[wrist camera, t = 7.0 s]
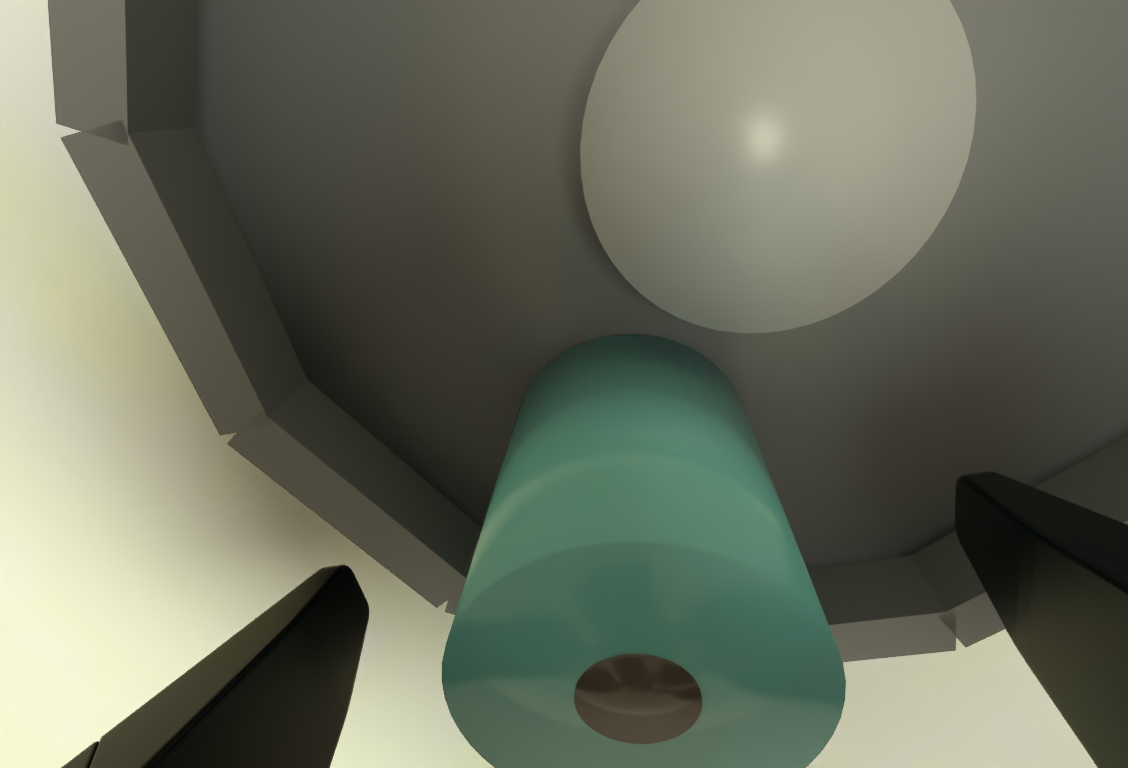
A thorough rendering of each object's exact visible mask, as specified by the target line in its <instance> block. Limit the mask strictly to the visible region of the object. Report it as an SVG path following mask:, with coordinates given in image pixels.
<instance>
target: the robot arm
mask: <svg viewBox="0 0 1128 768" xmlns="http://www.w3.org/2000/svg"><path fill="white" fill-rule="evenodd" d="M955 530H956V534H957V537H958V540H959V542H960V544H961V546H962V548H963V550H964V552H965V553H966V555H967V557H968V559H969V561H970V563H971V565H972V567H973V569H974V570H975V572H976V574H977V576H978V578H979V580H980V582H981V584H982V585H983V587H984V589H985V591H986V593H987V595H988V597H989V599H990V600H991V602H992V604H993V606H994V608H995V610H996V612H997V614H998V615H999V617H1000V619H1001V621H1002V623H1003V625H1004V627H1005V628H1006V630H1007V632H1008V634H1009V636H1010V637H1011V639H1012V641H1013V643H1014V644H1015V646H1016V647H1017V649H1018V650H1019V652H1020V654H1021V655H1022V657H1023V658H1024V660H1025V661H1026V663H1027V664H1028V666H1029V667H1030V669H1031V670H1032V672H1033V673H1034V675H1035V676H1036V677H1037V679H1038V680H1039V682H1040V683H1041V685H1042V686H1043V688H1044V689H1045V691H1046V692H1047V694H1048V695H1049V697H1050V698H1051V700H1052V701H1053V702H1054V704H1055V705H1056V707H1057V708H1058V710H1059V711H1060V713H1061V714H1062V716H1063V717H1064V719H1065V720H1066V722H1067V723H1068V724H1069V726H1070V727H1071V729H1072V730H1073V732H1074V733H1075V735H1076V736H1077V738H1078V739H1079V741H1080V742H1081V744H1082V745H1083V747H1084V748H1085V749H1086V751H1087V752H1088V754H1089V755H1090V757H1091V758H1092V760H1093V761H1094V763H1095V764H1096V766H1097V767H1098V768H1128V524H1126V523H1123V522H1120V521H1118V520H1115V519H1113V518H1110V517H1108V516H1105V515H1103V514H1100V513H1098V512H1095V511H1093V510H1090V509H1088V508H1085V507H1083V506H1080V505H1078V504H1075V503H1072V502H1070V501H1067V500H1065V499H1062V498H1060V497H1057V496H1055V495H1052V494H1050V493H1047V492H1045V491H1042V490H1040V489H1037V488H1035V487H1032V486H1029V485H1027V484H1024V483H1022V482H1019V481H1017V480H1014V479H1012V478H1009V477H1007V476H1004V475H1002V474H999V473H996V472H993V471H986V472H979V473H972V474H966V475H962V476H960V477H959V478H958V479H957V482H956V492H955ZM368 619H369V607H368V603H367V600H366V598H365V596H364V594H363V592H362V590H361V588H360V586H359V583H358V581H357V579H356V577H355V575H354V573H353V571H352V570H351V569H350V568H349V567H348V566H346V565H339V566H332V567H325V568H322V569H320V570H319V571H317V572H316V573H315V574H313V575H312V576H311V577H309V578H308V579H307V580H305V581H304V582H303V583H302V584H300V585H299V586H298V587H296V588H295V589H294V590H292V591H291V592H290V593H288V594H287V595H286V596H285V597H283V598H282V599H281V600H279V601H278V602H277V603H275V604H274V605H273V606H272V607H270V608H269V609H268V610H266V611H265V612H264V613H262V614H261V615H260V616H259V617H257V618H256V619H255V620H253V621H252V622H251V623H249V624H248V625H247V626H246V627H244V628H243V629H242V630H240V631H239V632H238V633H236V634H235V635H234V636H232V637H231V638H230V639H229V640H227V641H226V642H225V643H223V644H222V645H221V646H219V647H218V648H217V649H216V650H214V651H213V652H212V653H210V654H209V655H208V656H206V657H205V658H204V659H203V660H201V661H200V662H199V663H197V664H196V665H195V666H193V667H192V668H191V669H190V670H188V671H187V672H186V673H184V674H183V675H182V676H180V677H179V678H178V679H176V680H175V681H174V682H173V683H171V684H170V685H169V686H167V687H166V688H165V689H163V690H162V691H161V692H160V693H158V694H157V695H156V696H154V697H153V698H152V699H150V700H149V701H148V702H147V703H145V704H144V705H143V706H141V707H140V708H139V709H137V710H136V711H135V712H133V713H132V714H131V715H130V716H128V717H127V718H126V719H124V720H123V721H122V722H120V723H119V724H118V725H117V726H115V727H114V728H113V729H111V730H110V731H109V732H107V733H106V734H105V735H104V736H102V737H101V739H100V742H94V743H93V744H92V745H90V746H89V747H88V748H86V749H85V750H84V751H82V752H81V753H80V754H79V755H77V756H76V757H75V758H73V759H72V760H71V761H69V762H68V763H67V764H66V765H64V766H63V767H62V768H330V765H331V762H332V759H333V756H334V753H335V750H336V747H337V743H338V740H339V737H340V734H341V731H342V728H343V725H344V722H345V718H346V715H347V711H348V708H349V704H350V700H351V696H352V691H353V687H354V682H355V678H356V673H357V669H358V664H359V660H360V656H361V651H362V647H363V642H364V638H365V633H366V629H367V624H368Z"/></svg>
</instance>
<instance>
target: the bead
mask: <svg viewBox="0 0 1128 768" xmlns="http://www.w3.org/2000/svg"><path fill="white" fill-rule="evenodd" d="M442 684H443V690H444V695H445V699H446V702H447V705H448V708H449V711H450V713H451V716H452V717H453V719H454V721H455V723H456V725H457V727H458V728H459V730H460V732H461V733H462V734H463V736H464V737H465V738H466V740H467V741H468V742H469V744H470V745H471V746H472V747H473V748H474V749H475V750H476V751H477V752H478V753H479V754H480V755H481V756H482V757H483V758H484V759H485V760H486V761H487V762H489V763H490V764H491V765H492V766H493V767H495V768H805V767H807V766H808V765H809V764H810V763H811V762H812V761H813V760H814V759H815V758H816V757H817V755H818V754H819V753H820V752H821V751H822V750H823V748H824V747H825V746H826V744H827V743H828V741H829V740H830V738H831V737H832V735H833V733H834V731H835V729H836V727H837V724H838V722H839V720H840V718H841V714H842V710H843V706H844V702H845V686H846V680H845V674H844V667H843V662H842V659H841V656H840V654H839V651H838V648H837V645H836V643H835V640H834V637H833V635H832V632H831V630H830V627H829V625H828V622H827V620H826V617H825V614H824V612H823V609H822V607H821V604H820V602H819V599H818V597H817V594H816V591H815V589H814V586H813V584H812V581H811V579H810V576H809V574H808V571H807V568H806V566H805V563H804V561H803V558H802V556H801V553H800V551H799V548H798V545H797V543H796V540H795V538H794V535H793V533H792V530H791V528H790V525H789V522H788V520H787V517H786V515H785V512H784V510H783V507H782V505H781V502H780V499H779V497H778V494H777V492H776V489H775V487H774V484H773V482H772V479H771V476H770V474H769V471H768V469H767V466H766V464H765V461H764V459H763V456H762V453H761V451H760V448H759V446H758V443H757V441H756V438H755V436H754V433H753V430H752V428H751V425H750V423H749V420H748V418H747V415H746V412H745V410H744V407H743V405H742V402H741V400H740V397H739V395H738V394H737V392H736V390H735V388H734V386H733V385H732V383H731V382H730V381H729V379H728V378H727V377H726V375H725V374H724V373H723V372H722V371H721V370H720V369H719V368H718V367H717V366H716V365H715V364H714V363H713V362H711V361H710V360H709V359H707V358H706V357H705V356H703V355H702V354H700V353H699V352H697V351H695V350H693V349H691V348H689V347H688V346H685V345H683V344H680V343H678V342H675V341H673V340H669V339H665V338H661V337H657V336H650V335H642V334H621V335H613V336H606V337H602V338H598V339H594V340H590V341H588V342H585V343H583V344H580V345H577V346H575V347H573V348H572V349H570V350H568V351H566V352H564V353H563V354H561V355H560V356H558V357H557V358H556V359H554V360H553V361H552V362H550V363H549V364H548V365H547V366H546V367H545V368H544V369H543V370H542V371H541V372H540V373H539V374H538V376H537V377H536V378H535V379H534V381H533V382H532V383H531V385H530V387H529V388H528V390H527V392H526V393H525V395H524V398H523V400H522V403H521V405H520V408H519V411H518V414H517V417H516V421H515V424H514V427H513V430H512V434H511V437H510V440H509V443H508V446H507V450H506V453H505V456H504V459H503V463H502V466H501V469H500V472H499V475H498V479H497V482H496V485H495V488H494V492H493V495H492V498H491V501H490V504H489V508H488V511H487V514H486V517H485V521H484V524H483V527H482V530H481V533H480V537H479V540H478V543H477V546H476V550H475V553H474V556H473V559H472V562H471V566H470V569H469V572H468V575H467V579H466V582H465V585H464V588H463V591H462V595H461V598H460V601H459V604H458V608H457V611H456V614H455V617H454V621H453V624H452V627H451V630H450V633H449V637H448V640H447V643H446V647H445V652H444V656H443V661H442Z"/></svg>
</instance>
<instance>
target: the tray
mask: <svg viewBox="0 0 1128 768" xmlns="http://www.w3.org/2000/svg"><path fill="white" fill-rule="evenodd" d="M48 10H49V24H50V39H51V53H52V68H53V83H54V97H55V112H56V124H59V125H63V126H66V127H69V128H72V129H76V130H79V131H82V132H78V133H75V134H72V135H68V136H65V137H62V138H61V139H62V141H63V143H64V145H65V147H66V149H67V151H68V153H69V154H70V156H71V158H72V160H73V162H74V164H75V166H76V167H77V169H78V171H79V173H80V175H81V177H82V179H83V181H84V182H85V184H86V186H87V188H88V190H89V192H90V194H91V195H92V197H93V199H94V201H95V203H96V205H97V207H98V209H99V210H100V212H101V214H102V216H103V218H104V220H105V222H106V223H107V225H108V227H109V229H110V231H111V233H112V235H113V237H114V238H115V240H116V242H117V244H118V246H119V248H120V250H121V251H122V253H123V255H124V257H125V259H126V261H127V263H128V265H129V266H130V268H131V270H132V272H133V274H134V276H135V278H136V279H137V281H138V283H139V285H140V287H141V289H142V291H143V293H144V294H145V296H146V298H147V300H148V302H149V304H150V306H151V307H152V309H153V311H154V313H155V315H156V317H157V319H158V321H159V322H160V324H161V326H162V328H163V330H164V332H165V334H166V335H167V337H168V339H169V341H170V343H171V345H172V347H173V349H174V350H175V352H176V354H177V356H178V358H179V360H180V362H181V363H182V365H183V367H184V369H185V371H186V373H187V375H188V377H189V378H190V380H191V382H192V384H193V386H194V388H195V390H196V391H197V393H198V395H199V397H200V399H201V401H202V403H203V405H204V406H205V408H206V410H207V412H208V414H209V416H210V418H211V419H212V421H213V423H214V425H215V427H216V429H217V431H218V433H219V434H220V435H225V434H230V433H235V432H238V433H237V434H236V435H235V436H234V437H233V438H232V439H231V440H230V441H229V442H228V443H227V444H228V445H229V446H231V447H232V448H233V449H235V450H236V451H237V452H238V453H240V454H241V455H242V456H243V457H245V458H246V459H247V460H249V461H250V462H251V463H252V464H254V465H255V466H256V467H258V468H259V469H260V470H261V471H263V472H264V473H265V474H266V475H268V476H269V477H270V478H272V479H273V480H274V481H275V482H277V483H278V484H279V485H281V486H282V487H283V488H284V489H286V490H287V491H288V492H289V493H291V494H292V495H293V496H295V497H296V498H297V499H298V500H300V501H301V502H302V503H304V504H305V505H306V506H307V507H309V508H310V509H311V510H312V511H314V512H315V513H316V514H318V515H319V516H320V517H321V518H323V519H324V520H325V521H326V522H328V523H329V524H330V525H332V526H333V527H334V528H335V529H337V530H338V531H339V532H341V533H342V534H343V535H344V536H346V537H347V538H348V539H349V540H351V541H352V542H353V543H355V544H356V545H357V546H358V547H360V548H361V549H362V550H364V551H365V552H366V553H367V554H369V555H370V556H371V557H372V558H374V559H375V560H376V561H378V562H379V563H380V564H381V565H383V566H384V567H385V568H386V569H388V570H389V571H390V572H392V573H393V574H394V575H395V576H397V577H398V578H399V579H401V580H402V581H403V582H404V583H406V584H407V585H408V586H409V587H411V588H412V589H413V590H415V591H416V592H417V593H418V594H420V595H421V596H422V597H424V598H425V599H426V600H427V601H429V602H430V603H431V604H432V605H434V606H435V607H436V608H437V607H438V606H440V605H441V604H443V603H444V602H445V601H447V600H448V599H449V600H448V603H447V607H446V610H445V612H447V613H451V614H454V615H455V614H456V611H457V608H458V604H459V601H460V598H461V595H462V591H463V588H464V585H465V582H466V579H467V575H468V572H469V569H470V566H471V562H472V559H473V556H474V553H475V550H476V546H477V543H478V540H479V537H480V533H481V530H482V527H483V524H484V521H485V517H486V514H487V511H488V508H489V504H490V501H491V498H492V495H493V492H494V488H495V485H496V482H497V479H498V475H499V472H500V469H501V466H502V463H503V459H504V456H505V453H506V450H507V446H508V443H509V440H510V437H511V434H512V430H513V427H514V424H515V421H516V417H517V414H518V411H519V408H520V405H521V403H522V400H523V398H524V395H525V393H526V392H527V390H528V388H529V387H530V385H531V383H532V382H533V381H534V379H535V378H536V377H537V376H538V374H539V373H540V372H541V371H542V370H543V369H544V368H545V367H546V366H547V365H548V364H549V363H550V362H552V361H553V360H554V359H556V358H557V357H558V356H560V355H561V354H563V353H564V352H566V351H568V350H570V349H572V348H573V347H575V346H577V345H580V344H583V343H585V342H588V341H590V340H594V339H598V338H602V337H606V336H613V335H621V334H642V335H650V336H657V337H661V338H665V339H669V340H673V341H675V342H678V343H680V344H683V345H685V346H688V347H689V348H691V349H693V350H695V351H697V352H699V353H700V354H702V355H703V356H705V357H706V358H707V359H709V360H710V361H711V362H713V363H714V364H715V365H716V366H717V367H718V368H719V369H720V370H721V371H722V372H723V373H724V374H725V375H726V377H727V378H728V379H729V381H730V382H731V383H732V385H733V386H734V388H735V390H736V392H737V394H738V395H739V397H740V400H741V402H742V405H743V407H744V410H745V412H746V415H747V418H748V420H749V423H750V425H751V428H752V430H753V433H754V436H755V438H756V441H757V443H758V446H759V448H760V451H761V453H762V456H763V459H764V461H765V464H766V466H767V469H768V471H769V474H770V476H771V479H772V482H773V484H774V487H775V489H776V492H777V494H778V497H779V499H780V502H781V505H782V507H783V510H784V512H785V515H786V517H787V520H788V522H789V525H790V528H791V530H792V533H793V535H794V538H795V540H796V543H797V545H798V548H799V551H800V553H801V556H802V558H803V561H804V563H805V566H806V568H807V571H808V574H809V576H810V579H811V581H812V584H813V586H814V589H815V591H816V594H817V597H818V599H819V602H820V604H821V607H822V609H823V612H824V614H825V617H826V620H827V622H828V625H829V627H830V630H831V632H832V635H833V637H834V640H835V643H836V645H837V648H838V651H839V654H840V656H841V659H842V662H848V661H858V660H867V659H877V658H887V657H896V656H906V655H916V654H925V653H935V652H945V651H955V650H956V637H957V638H958V639H959V640H960V642H961V643H962V644H963V645H964V646H965V647H968V646H970V645H972V644H974V643H976V642H978V641H980V640H983V639H985V638H987V637H989V636H991V635H993V634H995V633H997V632H999V631H1001V630H1003V629H1005V627H1004V625H1003V623H1002V621H1001V619H1000V617H999V615H998V614H997V612H996V610H995V608H994V606H993V604H992V602H991V600H990V599H989V597H988V595H987V593H986V591H985V589H984V587H983V585H982V584H981V582H980V580H979V578H978V576H977V574H976V572H975V570H974V569H973V567H972V565H971V563H970V561H969V559H968V557H967V555H966V553H965V552H964V550H963V548H962V546H961V544H960V542H959V540H958V537H957V534H956V530H955V492H956V482H957V479H958V478H959V477H960V476H962V475H966V474H972V473H979V472H986V471H993V472H996V473H999V474H1002V475H1004V476H1007V477H1009V478H1012V479H1014V480H1017V481H1019V482H1022V483H1024V484H1027V485H1029V486H1032V487H1035V488H1037V489H1040V490H1042V491H1045V492H1047V493H1050V494H1052V495H1055V496H1057V497H1060V498H1062V499H1065V500H1067V501H1070V502H1072V503H1075V504H1078V505H1080V506H1083V507H1085V508H1088V509H1090V510H1093V511H1095V512H1098V513H1100V514H1103V515H1105V516H1108V517H1110V518H1113V519H1115V520H1118V521H1120V522H1123V523H1126V524H1128V0H48Z"/></svg>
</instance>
